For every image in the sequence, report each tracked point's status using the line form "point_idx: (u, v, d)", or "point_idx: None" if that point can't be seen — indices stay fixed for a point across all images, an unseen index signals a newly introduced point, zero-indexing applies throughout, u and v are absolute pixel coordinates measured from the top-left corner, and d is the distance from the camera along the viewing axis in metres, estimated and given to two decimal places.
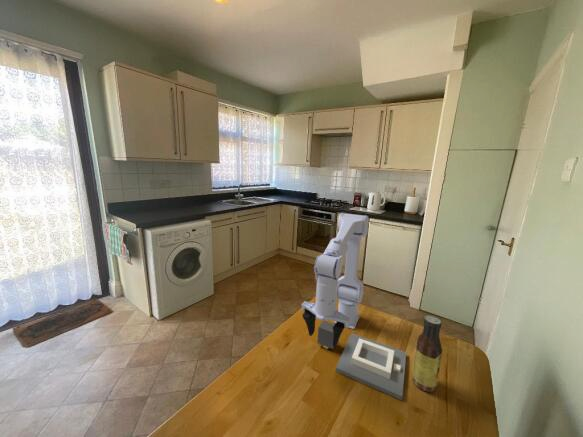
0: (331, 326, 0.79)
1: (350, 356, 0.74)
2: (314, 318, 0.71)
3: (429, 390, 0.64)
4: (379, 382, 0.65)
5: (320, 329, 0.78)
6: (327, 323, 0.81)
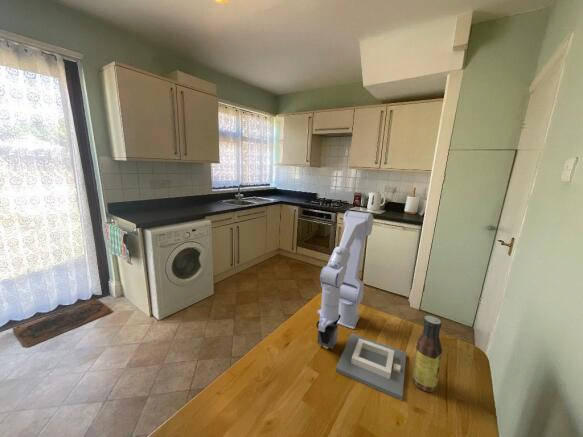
0: None
1: (350, 356, 0.74)
2: (333, 323, 0.81)
3: (429, 390, 0.64)
4: (379, 382, 0.65)
5: None
6: None
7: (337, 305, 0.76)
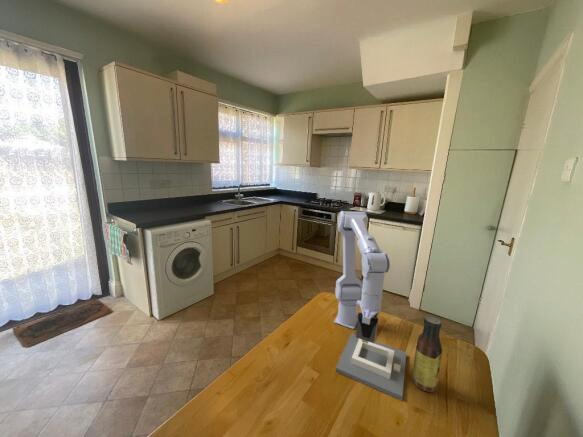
0: None
1: (350, 356, 0.74)
2: None
3: (429, 390, 0.64)
4: (379, 382, 0.65)
5: (359, 322, 0.71)
6: None
7: (381, 295, 0.69)
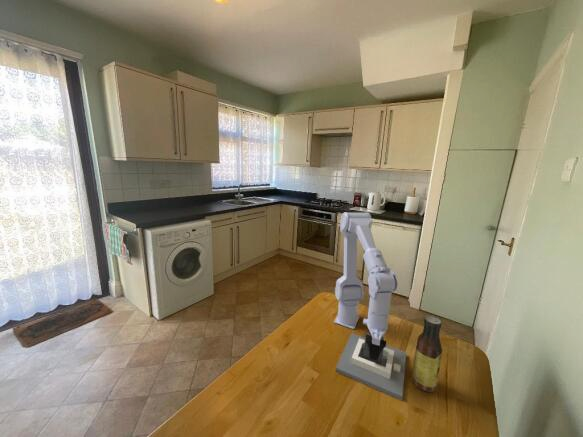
0: None
1: (350, 356, 0.74)
2: None
3: (429, 390, 0.64)
4: (379, 382, 0.65)
5: None
6: (371, 335, 0.74)
7: (388, 313, 0.69)
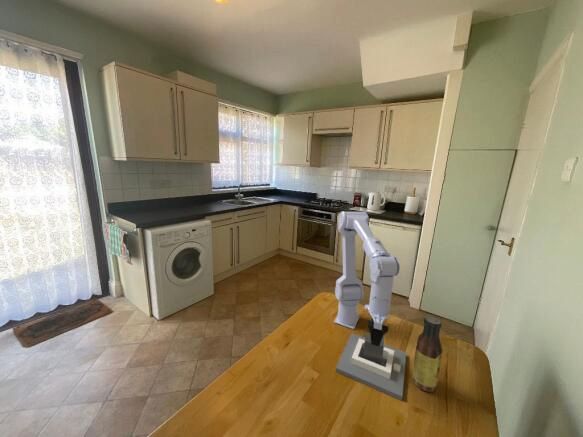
0: None
1: (350, 356, 0.74)
2: None
3: (429, 390, 0.64)
4: (379, 382, 0.65)
5: (367, 343, 0.71)
6: None
7: (390, 298, 0.68)
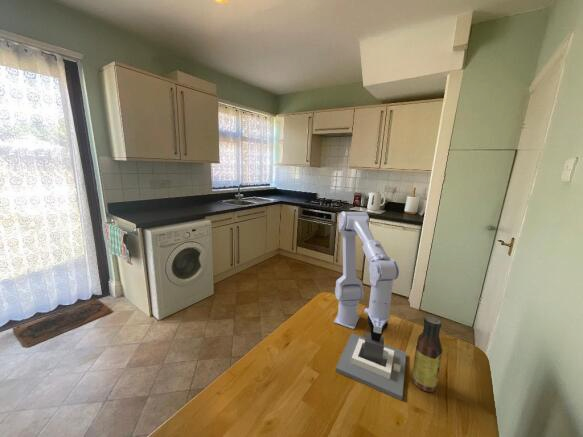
0: None
1: (350, 356, 0.74)
2: None
3: (429, 390, 0.64)
4: (379, 382, 0.65)
5: (367, 343, 0.71)
6: None
7: (389, 302, 0.68)
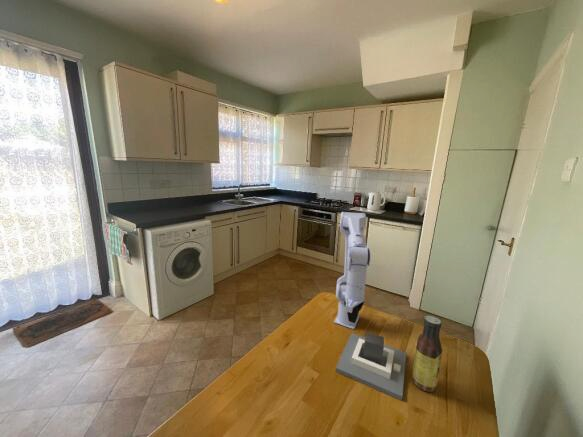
0: (377, 338, 0.72)
1: (350, 356, 0.74)
2: None
3: (429, 390, 0.64)
4: (379, 382, 0.65)
5: (367, 343, 0.71)
6: (371, 335, 0.74)
7: (364, 286, 0.74)
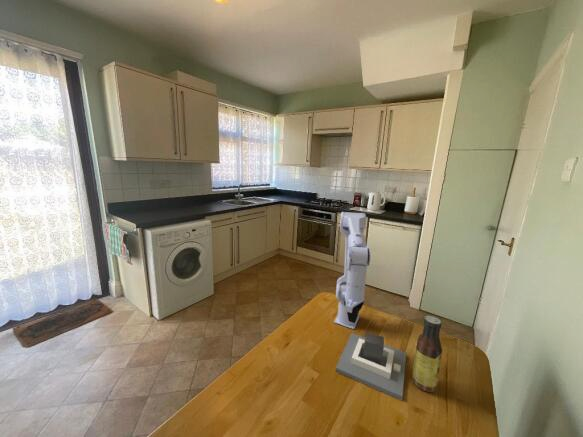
0: (377, 338, 0.72)
1: (350, 356, 0.74)
2: None
3: (429, 390, 0.64)
4: (379, 382, 0.65)
5: (367, 343, 0.71)
6: (371, 335, 0.74)
7: (363, 286, 0.74)
